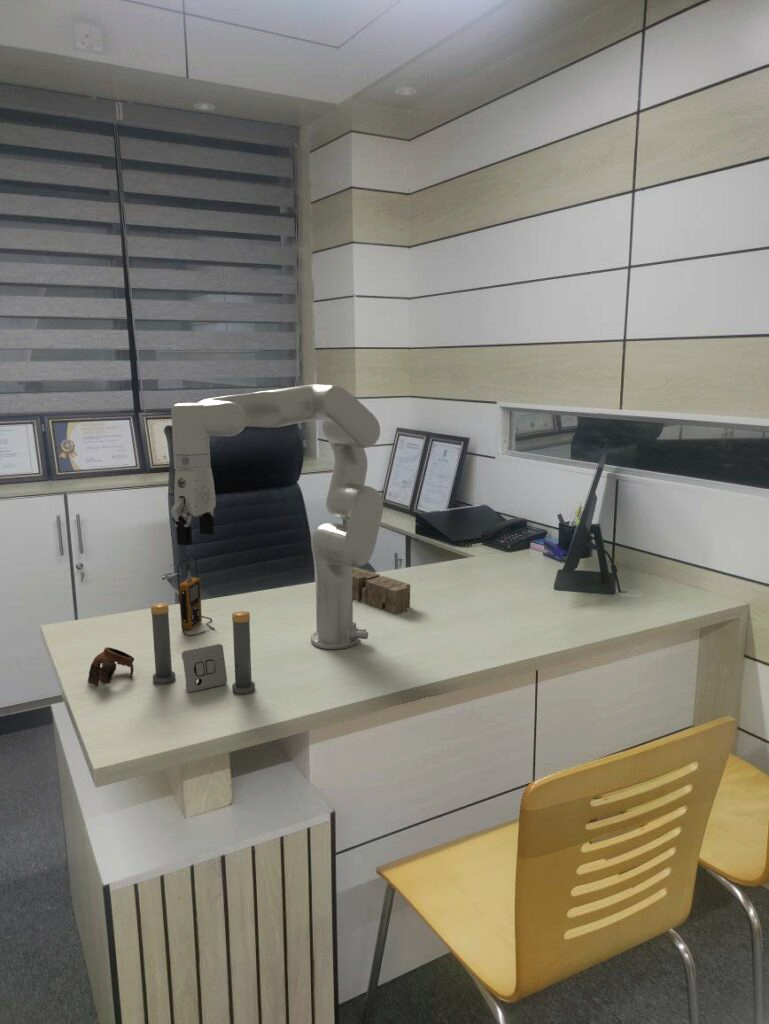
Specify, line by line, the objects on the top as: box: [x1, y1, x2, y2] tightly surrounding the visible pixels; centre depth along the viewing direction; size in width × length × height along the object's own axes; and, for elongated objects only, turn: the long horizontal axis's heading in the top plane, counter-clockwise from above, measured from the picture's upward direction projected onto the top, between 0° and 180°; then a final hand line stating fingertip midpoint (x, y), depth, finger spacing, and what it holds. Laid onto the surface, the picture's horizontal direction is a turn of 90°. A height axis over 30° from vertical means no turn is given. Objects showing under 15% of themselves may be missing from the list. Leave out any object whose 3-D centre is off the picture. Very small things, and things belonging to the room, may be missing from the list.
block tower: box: [351, 567, 411, 616], centre depth 227 cm, size 8×8×29 cm
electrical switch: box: [181, 643, 228, 693], centre depth 168 cm, size 9×5×9 cm, turn 121°
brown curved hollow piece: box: [87, 646, 135, 687], centre depth 171 cm, size 12×10×8 cm
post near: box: [231, 610, 256, 696], centre depth 164 cm, size 5×5×18 cm
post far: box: [150, 602, 176, 686], centre depth 169 cm, size 5×5×18 cm
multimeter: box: [177, 554, 218, 637], centre depth 202 cm, size 15×10×20 cm
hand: (196, 539), depth 162 cm, fingers open, 9 cm apart
